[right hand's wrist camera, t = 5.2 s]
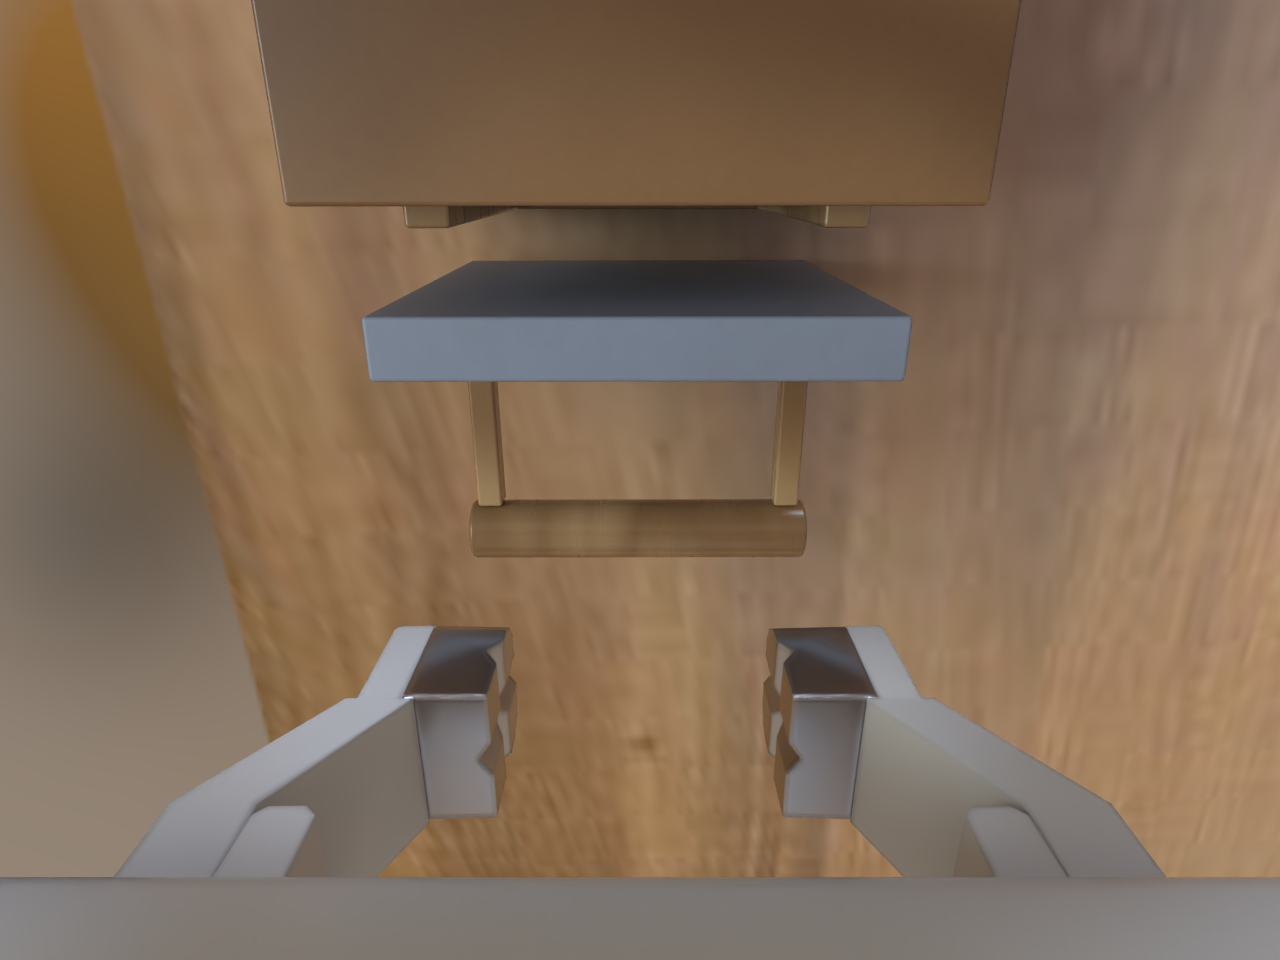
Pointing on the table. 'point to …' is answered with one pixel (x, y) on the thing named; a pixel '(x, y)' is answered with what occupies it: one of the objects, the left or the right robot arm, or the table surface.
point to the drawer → (637, 371)
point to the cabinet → (636, 101)
